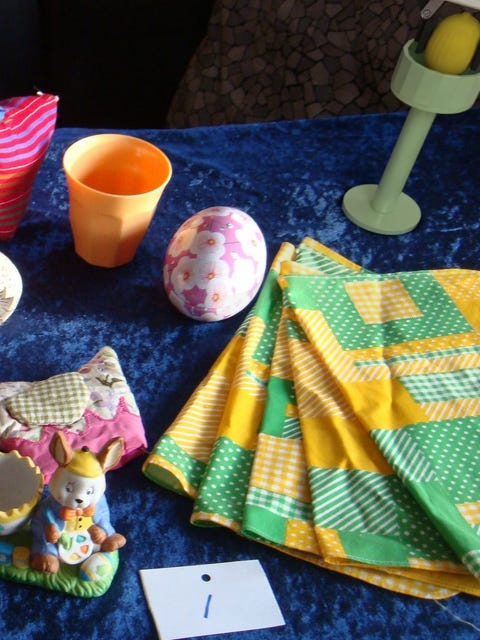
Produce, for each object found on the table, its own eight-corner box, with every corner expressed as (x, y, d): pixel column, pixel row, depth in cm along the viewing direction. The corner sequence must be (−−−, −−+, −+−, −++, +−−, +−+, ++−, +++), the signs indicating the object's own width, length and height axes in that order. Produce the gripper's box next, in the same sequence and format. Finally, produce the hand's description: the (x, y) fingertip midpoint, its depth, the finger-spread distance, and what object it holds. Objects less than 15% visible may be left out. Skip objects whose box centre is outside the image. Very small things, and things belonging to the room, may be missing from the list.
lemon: (467, 75, 99) (497, 8, 93) (458, 96, 96) (489, 28, 90) (419, 62, 101) (446, -3, 95) (409, 83, 98) (436, 16, 92)
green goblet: (428, 208, 114) (504, 52, 97) (403, 246, 108) (479, 87, 92) (357, 181, 118) (418, 26, 101) (329, 216, 112) (389, 59, 96)
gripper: (422, -122, 84) (363, 47, 98) (608, -82, 77) (517, 95, 91) (446, -142, 88) (386, 23, 102) (624, -106, 82) (534, 67, 95)
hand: (448, 55), depth 96 cm, fingers closed on lemon, 5 cm apart
